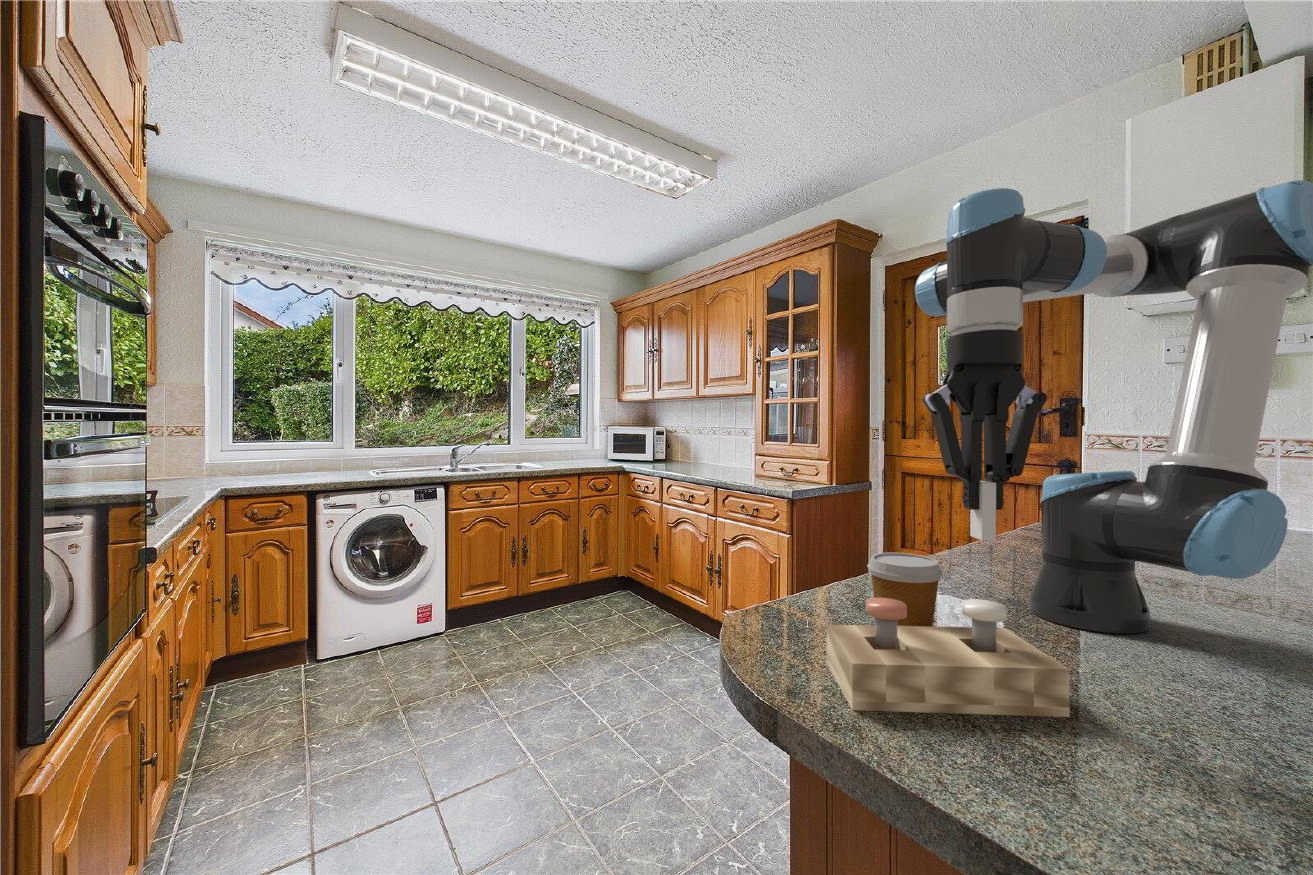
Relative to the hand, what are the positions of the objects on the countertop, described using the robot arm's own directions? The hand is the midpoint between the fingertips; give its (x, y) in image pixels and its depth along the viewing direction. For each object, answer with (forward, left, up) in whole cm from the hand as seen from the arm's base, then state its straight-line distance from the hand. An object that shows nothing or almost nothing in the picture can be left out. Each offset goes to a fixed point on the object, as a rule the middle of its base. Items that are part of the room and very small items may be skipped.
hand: (982, 537), depth 63 cm
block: (+5, 0, -18) cm, 18 cm away
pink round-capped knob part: (+11, 0, -13) cm, 17 cm away
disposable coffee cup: (+4, -13, -18) cm, 22 cm away
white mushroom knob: (0, 0, -13) cm, 13 cm away
